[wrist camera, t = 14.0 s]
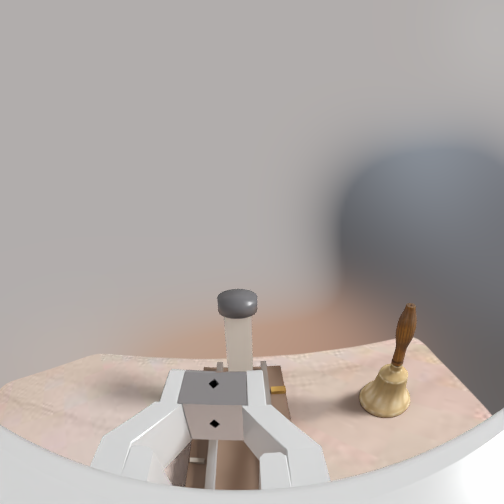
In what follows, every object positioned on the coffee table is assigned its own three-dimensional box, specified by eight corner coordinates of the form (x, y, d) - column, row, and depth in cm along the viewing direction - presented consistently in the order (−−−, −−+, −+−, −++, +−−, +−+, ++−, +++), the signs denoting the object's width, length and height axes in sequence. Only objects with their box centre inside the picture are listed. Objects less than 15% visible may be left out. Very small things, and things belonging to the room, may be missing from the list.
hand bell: (373, 424, 28) (406, 327, 24) (350, 388, 36) (370, 296, 32) (419, 407, 29) (455, 313, 25) (393, 376, 37) (417, 288, 33)
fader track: (186, 509, 17) (179, 498, 16) (205, 376, 40) (202, 360, 39) (303, 507, 18) (308, 497, 17) (279, 374, 41) (280, 358, 40)
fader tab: (224, 402, 32) (213, 305, 28) (225, 381, 36) (217, 289, 32) (260, 402, 32) (260, 304, 28) (258, 381, 36) (257, 288, 32)
